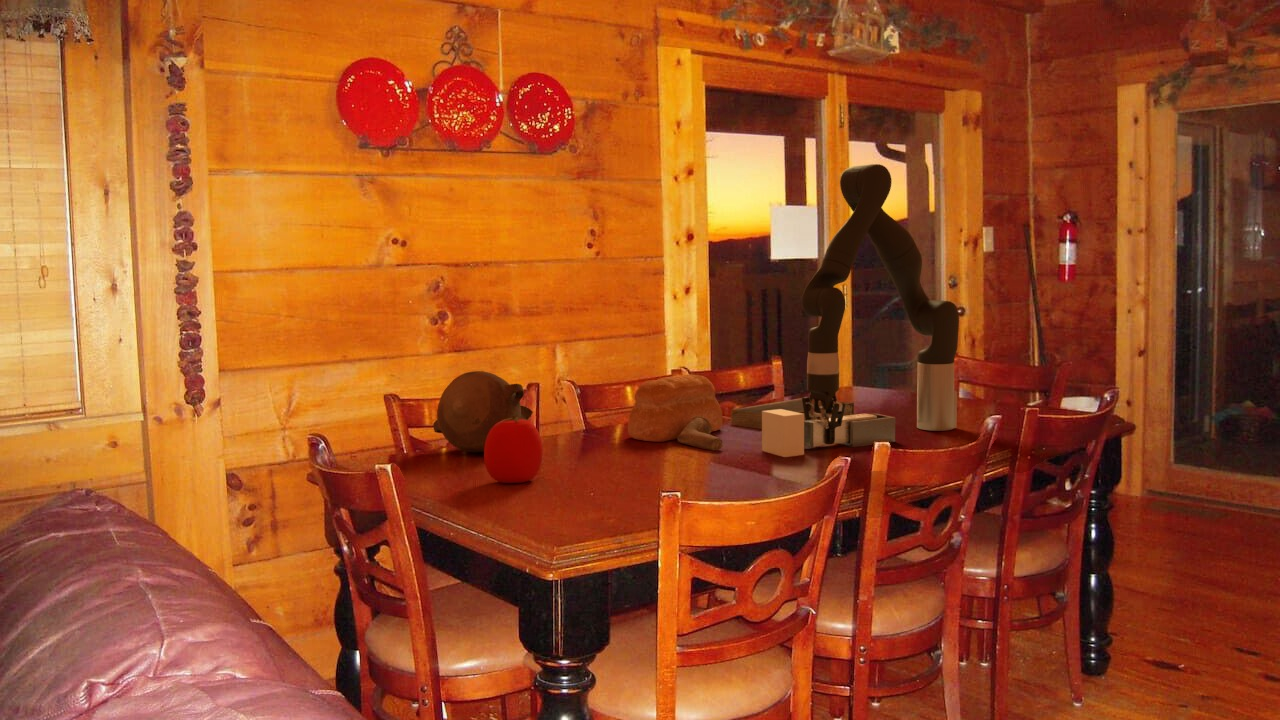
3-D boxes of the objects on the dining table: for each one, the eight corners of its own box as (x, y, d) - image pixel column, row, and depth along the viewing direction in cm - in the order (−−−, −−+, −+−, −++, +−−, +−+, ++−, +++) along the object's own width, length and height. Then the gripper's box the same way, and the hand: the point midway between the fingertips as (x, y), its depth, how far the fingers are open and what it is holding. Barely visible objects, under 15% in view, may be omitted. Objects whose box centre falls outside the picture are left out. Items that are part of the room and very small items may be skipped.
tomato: (493, 490, 216) (490, 421, 215) (478, 479, 227) (476, 413, 225) (552, 483, 221) (550, 416, 220) (535, 473, 232) (533, 408, 230)
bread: (621, 438, 272) (620, 379, 271) (691, 425, 290) (690, 369, 289) (659, 445, 263) (658, 383, 261) (728, 430, 281) (728, 373, 279)
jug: (479, 463, 243) (546, 461, 271) (499, 380, 243) (564, 386, 270) (410, 439, 252) (481, 439, 279) (429, 359, 251) (498, 367, 278)
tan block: (781, 448, 255) (781, 409, 254) (804, 454, 247) (803, 413, 246) (762, 450, 252) (761, 411, 251) (784, 457, 244) (784, 416, 243)
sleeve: (875, 437, 267) (875, 413, 266) (895, 441, 260) (895, 417, 260) (833, 442, 261) (834, 418, 260) (852, 447, 254) (853, 422, 254)
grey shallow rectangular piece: (801, 413, 309) (801, 396, 308) (853, 420, 295) (853, 402, 294) (731, 426, 290) (731, 407, 289) (783, 434, 276) (783, 415, 275)
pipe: (709, 433, 251) (740, 421, 257) (665, 424, 264) (695, 413, 270) (713, 459, 252) (744, 447, 258) (668, 449, 265) (699, 437, 271)
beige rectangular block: (864, 436, 263) (864, 412, 263) (877, 439, 259) (877, 415, 259) (798, 444, 254) (798, 420, 254) (810, 447, 250) (810, 422, 249)
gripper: (855, 373, 248) (854, 445, 250) (817, 367, 261) (817, 436, 263) (829, 375, 245) (829, 448, 247) (792, 369, 257) (792, 439, 259)
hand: (823, 442), depth 255 cm, fingers closed on beige rectangular block, 4 cm apart
